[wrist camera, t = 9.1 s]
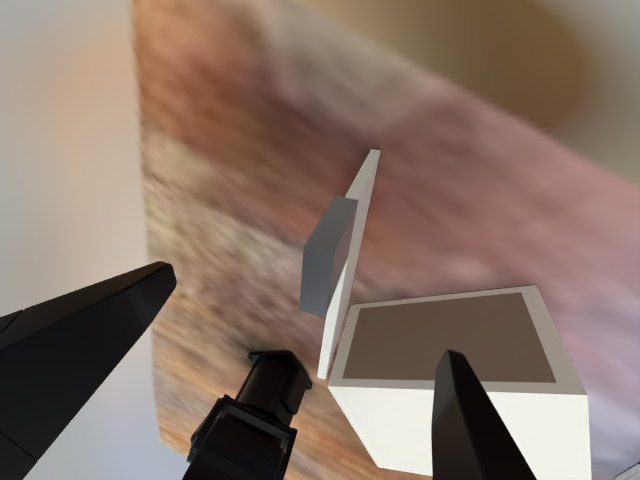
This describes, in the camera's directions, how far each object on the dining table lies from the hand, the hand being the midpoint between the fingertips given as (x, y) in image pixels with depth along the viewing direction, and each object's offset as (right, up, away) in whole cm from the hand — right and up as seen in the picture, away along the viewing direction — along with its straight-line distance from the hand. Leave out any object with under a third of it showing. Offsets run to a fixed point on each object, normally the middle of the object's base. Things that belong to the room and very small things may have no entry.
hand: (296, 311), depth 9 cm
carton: (+12, -7, +16) cm, 21 cm away
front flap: (+3, +2, +13) cm, 14 cm away
